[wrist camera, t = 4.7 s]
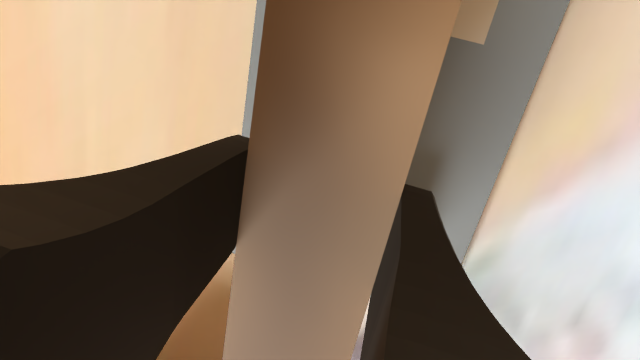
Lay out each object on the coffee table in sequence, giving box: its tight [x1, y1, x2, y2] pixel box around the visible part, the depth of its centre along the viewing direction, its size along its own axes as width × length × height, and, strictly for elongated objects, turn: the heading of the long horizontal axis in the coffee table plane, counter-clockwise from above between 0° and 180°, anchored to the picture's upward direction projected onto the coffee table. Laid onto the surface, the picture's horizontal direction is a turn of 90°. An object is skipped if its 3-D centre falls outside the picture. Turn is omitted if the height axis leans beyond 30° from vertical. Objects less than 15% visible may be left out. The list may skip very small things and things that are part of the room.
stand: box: [232, 0, 570, 297], centre depth 16 cm, size 9×16×3 cm, turn 169°
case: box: [222, 0, 462, 360], centre depth 13 cm, size 3×14×5 cm, turn 169°
